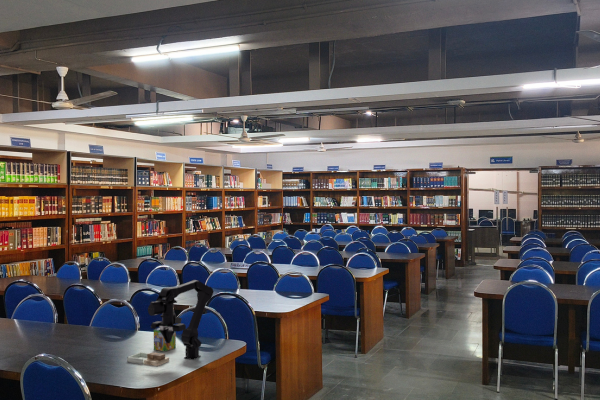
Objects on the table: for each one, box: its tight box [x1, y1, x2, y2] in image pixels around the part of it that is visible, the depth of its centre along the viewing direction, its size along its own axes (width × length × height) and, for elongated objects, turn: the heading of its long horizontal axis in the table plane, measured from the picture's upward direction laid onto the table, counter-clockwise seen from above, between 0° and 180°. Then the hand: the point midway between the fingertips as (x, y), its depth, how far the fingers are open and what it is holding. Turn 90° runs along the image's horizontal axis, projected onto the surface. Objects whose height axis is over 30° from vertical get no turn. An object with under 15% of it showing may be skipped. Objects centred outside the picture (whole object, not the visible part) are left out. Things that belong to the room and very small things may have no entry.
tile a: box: [154, 352, 166, 361], centre depth 271 cm, size 4×4×2 cm
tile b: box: [147, 351, 159, 360], centre depth 273 cm, size 4×4×2 cm
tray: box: [126, 351, 149, 365], centre depth 277 cm, size 10×10×2 cm
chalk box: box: [152, 327, 177, 352], centre depth 299 cm, size 9×9×15 cm
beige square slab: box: [143, 356, 170, 367], centre depth 272 cm, size 9×9×2 cm
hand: (168, 343), depth 269 cm, fingers closed
